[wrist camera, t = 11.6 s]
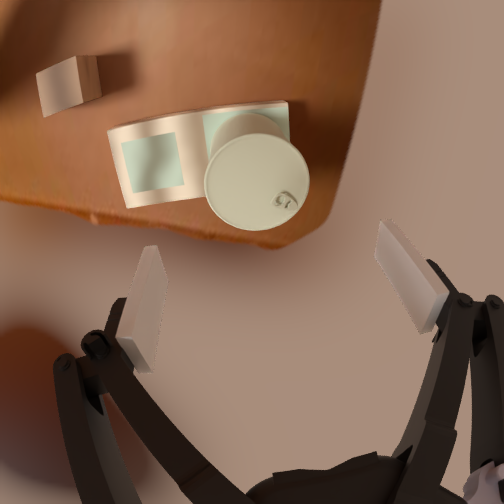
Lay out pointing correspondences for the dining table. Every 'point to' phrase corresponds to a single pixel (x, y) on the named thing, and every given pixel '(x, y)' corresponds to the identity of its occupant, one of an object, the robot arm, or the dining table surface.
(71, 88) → the cube
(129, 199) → the board
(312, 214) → the dining table surface
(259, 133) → the can
